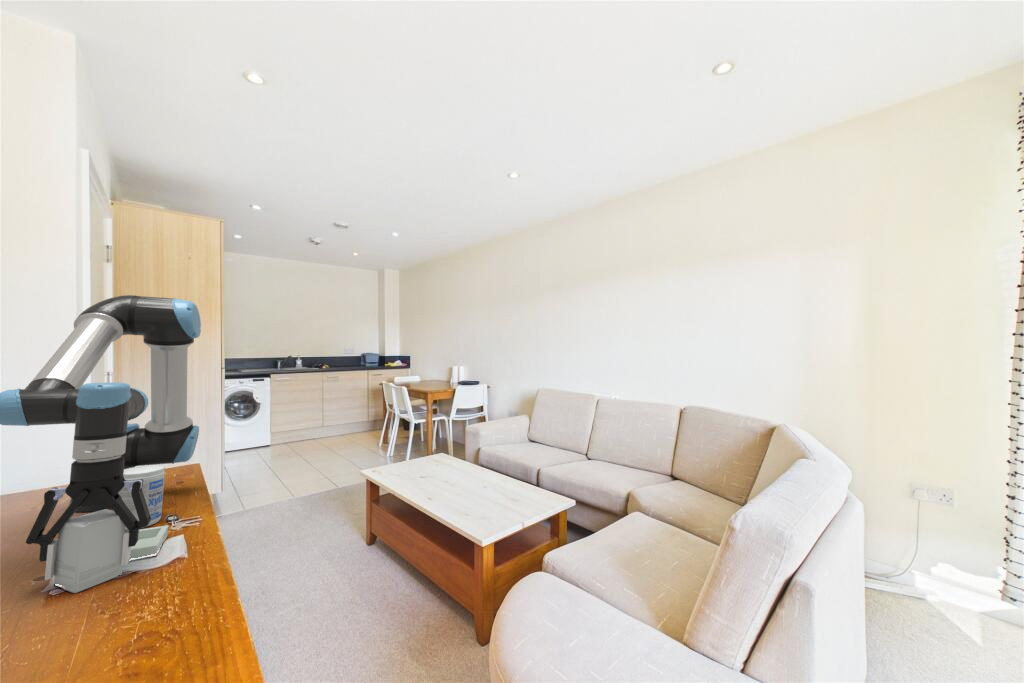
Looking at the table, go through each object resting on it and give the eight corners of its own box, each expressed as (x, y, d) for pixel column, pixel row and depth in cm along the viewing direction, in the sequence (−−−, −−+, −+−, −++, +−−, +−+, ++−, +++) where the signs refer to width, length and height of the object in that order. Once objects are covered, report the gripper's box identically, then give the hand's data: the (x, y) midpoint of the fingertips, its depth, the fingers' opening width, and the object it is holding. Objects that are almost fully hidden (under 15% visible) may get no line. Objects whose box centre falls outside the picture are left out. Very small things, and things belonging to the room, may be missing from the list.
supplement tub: (156, 527, 102) (161, 471, 103) (106, 535, 97) (111, 476, 98) (164, 514, 110) (168, 462, 111) (118, 521, 105) (122, 466, 106)
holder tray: (99, 546, 91) (100, 535, 92) (168, 535, 98) (168, 525, 98) (77, 571, 81) (78, 558, 81) (156, 556, 88) (157, 545, 88)
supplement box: (123, 574, 80) (128, 513, 81) (73, 594, 73) (79, 527, 74) (102, 567, 83) (107, 507, 83) (51, 586, 76) (58, 520, 76)
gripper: (4, 469, 70) (-9, 595, 69) (167, 456, 82) (159, 563, 81) (26, 459, 76) (14, 575, 75) (174, 449, 88) (166, 548, 87)
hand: (89, 569), depth 78 cm, fingers closed on supplement box, 10 cm apart
